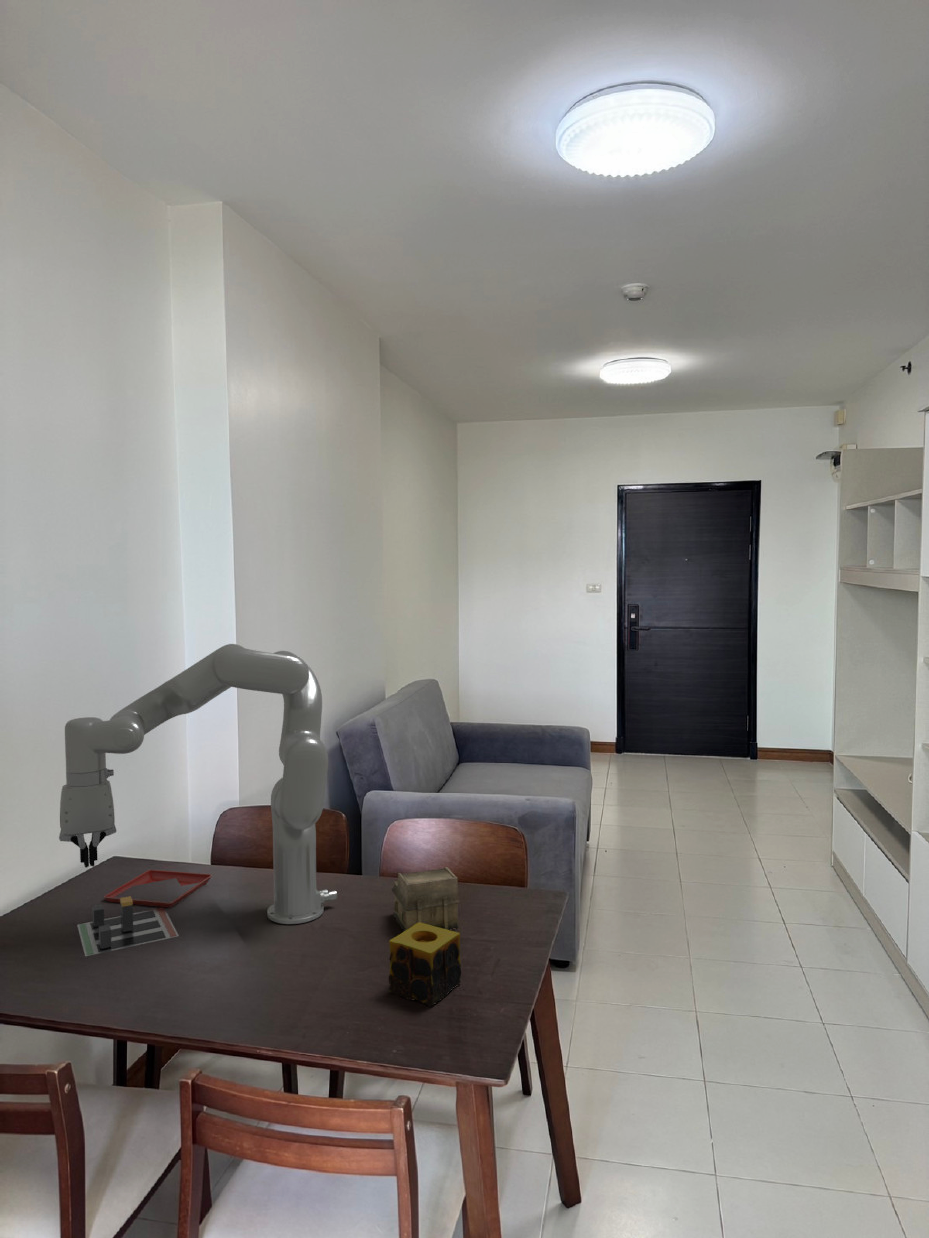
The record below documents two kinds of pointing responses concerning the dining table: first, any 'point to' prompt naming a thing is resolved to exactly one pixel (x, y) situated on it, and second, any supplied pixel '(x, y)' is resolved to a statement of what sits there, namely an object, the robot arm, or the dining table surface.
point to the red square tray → (161, 875)
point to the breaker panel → (144, 931)
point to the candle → (424, 963)
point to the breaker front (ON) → (105, 936)
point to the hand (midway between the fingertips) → (89, 864)
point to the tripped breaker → (126, 913)
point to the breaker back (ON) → (98, 915)
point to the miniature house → (426, 899)
